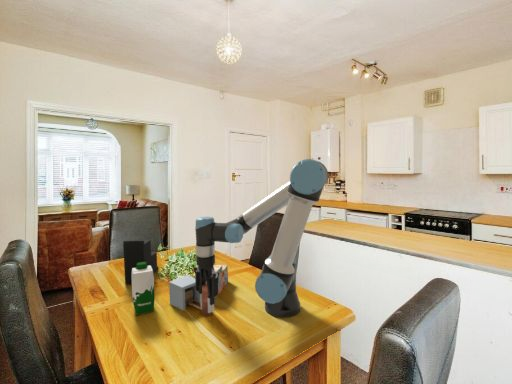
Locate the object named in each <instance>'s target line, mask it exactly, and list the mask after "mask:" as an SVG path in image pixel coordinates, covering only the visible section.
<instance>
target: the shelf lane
mask: <svg viewBox="0 0 512 384" xmlns="http://www.w3.org/2000/svg"><path fill="white" fill-rule="evenodd" d="M198 287H199V286H198ZM168 288H169V289H168V290H169V292H168V293H169V304H170V305H172V306H173V307H174V308H177V309H179V310H181V311H183V312H184V311H186V306H185V289H187V288H190V289H193V302H196V303H198V304H200V293H199V291H196V282H195V277H193V276H190V275H185V276H181V277H179V278H175V279H173V280H170V281H168Z"/></svg>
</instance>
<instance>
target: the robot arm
mask: <svg viewBox="0 0 512 384" xmlns="http://www.w3.org/2000/svg"><path fill="white" fill-rule="evenodd" d="M328 178H329V172H328V169H327V167H326V165H325V164H323V163H322V162H321V161H318V160H316V159H312V158H306V159H305V158H304V159H302V160H300V161H298V162H297V163H296V164H294V166H293V167H292V168H291V171H290V174H289V180H288V182H286V183H284V184H283V185H282V186H281V187H279V188H277V189H276V190H275V191H274V192H272V193H271V194H269V195H267V196H266V197H265V198H263V199H262V200H260V201H259V202H258V203H256V204H255V205H254V206H252V207H251V208H249V209H248V210H246V211H245V212H243V213H242V214H241V215H239V216H238V217H236V218H235V219H232V220H230V221H228V222H215V218H214V217H212V216H200V217H197V218H196V219H195V226H194V227H195V244H196V245H195V254H196V258H195V259H196V265H197V266H195V267H194V268H193V270H194V278H195V282H196V291H199V293H200V303H199V304H200V307H201V310H200V311H202V285H203V284H206V281H207V287H208V294H209V296H208V297H207V298H208V313H210V312H212V313H213V312H214V311H215V304H216V303H215V302H216V301H215V300H216V299H215V298H214V297H215V296H217V295H218V277H219V272H217V273H216V272H215V271H214V267H213V266H214V265H216V264H215V263H216V255H215V254H216V251H215V247H216V246H215V245H216V244H215V242H218V243H229V244H233V243H234V244H238V243H241V242H242V240H243V238H244V235H245V234H246V233H249V231H250V230H252V229H253V228H255V227H256V226H258V225H260V223H262V222H264V221H266V220H267V219H268V218H270V217H271V216H273V215H275V214H276V213H277V212H279V211H280V210H282V209H283V208H285V207H286V208H285V211H284V214H283V217H282V220H281V223H280V227H279V229H278V233H277V235H276V239H275V242H274V244H273V248H272V250H271V253H270V255H269V256H268V257H267V258H265V260H264V263H263V265H262V268H261V272H260V273H259V275H258V276H257V277H256V280H255V283H254V288H255V292H256V294H257V296H258V297H259V299H261V300H262V301H263V302H264V310H265V312H267V313H268V314H270V315H271V316H274V317H279V318H289V317H293V316H296V315H298V314H299V313H300V311H301V302H300V299H299V295H298V293H297V261H296V260H297V259H296V255H297V252H298V249H299V246H300V243H301V241H302V237H303V235H304V232H305V229H306V226H307V223H308V220H309V217H310V214H311V211H312V209H313V205H314V204H317V203H319V201H320V199H321V196H322V192H323V190H324V186H325V185H326V184H327V182H328V180H329V179H328ZM209 277H210V278H209ZM198 286H199V287H198ZM218 296H219V295H218ZM218 296H217V297H218Z"/></svg>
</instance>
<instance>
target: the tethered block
mask: <svg viewBox="0 0 512 384" xmlns="http://www.w3.org/2000/svg"><path fill="white" fill-rule="evenodd" d="M208 296H209V294H208V287H207V284H203V285H202V310H201V306H199V305H196V304H195V303H194V301H193V289H190V288H187V289H185V307H186V306H188V305H190V306H192V307H195V308H197V310H198V309H199V310H200V311H202V315H203V316H204V317H209V316H212V315H213V311H212V312H210V313H208V298H207V297H208Z"/></svg>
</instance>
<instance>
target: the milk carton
mask: <svg viewBox="0 0 512 384" xmlns="http://www.w3.org/2000/svg"><path fill="white" fill-rule="evenodd" d="M154 276H155V273H154V274H153V269H152V267H151V265H149V266H147V263H146V262H139V263H137V267H135V268H132V277H131V279H132V284H131V294H132V295H131V296H132V305H133V307H134V308H133V309H134V313H135V315H136V316H140V315H143V314H147V313H152V312H154V311H155V298H156V297H155V296H156V295H155V277H154Z"/></svg>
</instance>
